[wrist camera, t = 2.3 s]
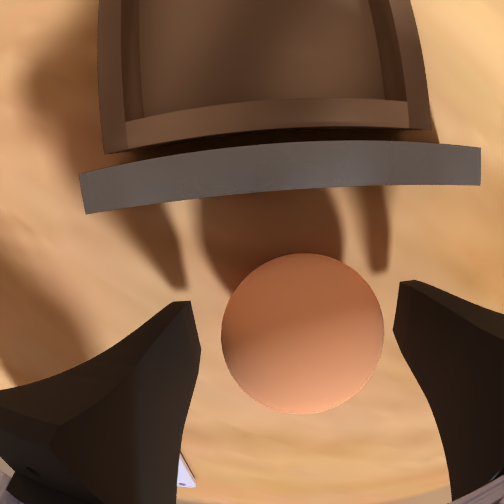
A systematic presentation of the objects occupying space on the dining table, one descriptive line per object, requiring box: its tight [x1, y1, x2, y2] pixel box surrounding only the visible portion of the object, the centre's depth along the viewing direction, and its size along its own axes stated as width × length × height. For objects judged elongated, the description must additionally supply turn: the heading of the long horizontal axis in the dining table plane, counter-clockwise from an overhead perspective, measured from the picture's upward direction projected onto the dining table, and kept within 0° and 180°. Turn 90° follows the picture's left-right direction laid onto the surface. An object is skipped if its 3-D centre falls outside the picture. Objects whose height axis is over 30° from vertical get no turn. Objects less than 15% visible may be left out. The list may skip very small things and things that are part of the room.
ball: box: [221, 253, 384, 414], centre depth 9 cm, size 5×5×5 cm
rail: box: [79, 140, 481, 214], centre depth 8 cm, size 12×1×2 cm, turn 95°
